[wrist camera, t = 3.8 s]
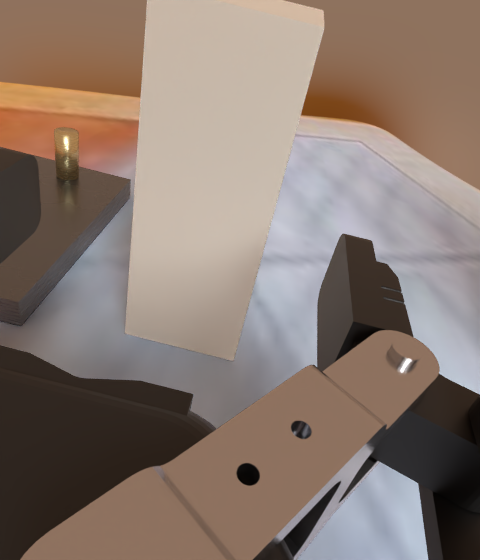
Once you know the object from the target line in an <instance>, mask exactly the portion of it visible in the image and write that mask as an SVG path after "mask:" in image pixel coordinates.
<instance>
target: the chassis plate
mask: <svg viewBox="0 0 480 560" xmlns="http://www.w3.org/2000/svg"><path fill="white" fill-rule="evenodd" d="M54 137H55V161H54V160H50V159H46V158H42V157H38V156H34V155H33V156H34V157H35V158H36V160H37V163H38V169H39V185H40V200H41V218H40V222H39V225H38V227H37V229H36V231H35V232H34V233H33V234H32V235H31V236H30V237H29V238H28V239H27V240H26V241H25V242H24V243H23V244H22V245H20V246H19V247H18V248H17V249H16V250H15V251H14V252H13V253H12V254H11V255H10V256H8V257H7V258H6V259H5V260H4V261H3V262H2V263H1V264H0V321H3V322H7V323H11V324H15V325H19V326H22V324H23V323H24V322H25V321H26V320H27V319H28V317H29V316H30V315H31V314H32V313H33V311H34V310H35V309H36V308H37V307H38V306H39V304H40V303H41V302H42V301H43V300H44V298H45V297H46V296H47V295H48V294H49V293H50V291H51V290H52V289H53V288H54V287H55V285H56V284H57V283H58V282H59V281H60V280H61V278H62V277H63V276H64V275H65V274H66V272H67V271H68V270H69V269H70V268H71V267H72V265H73V264H74V263H75V262H76V261H77V259H78V258H79V257H80V256H81V255H82V254H83V252H84V251H85V250H86V249H87V248H88V246H89V245H90V244H91V243H92V242H93V241H94V239H95V238H96V237H97V236H98V235H99V233H100V232H101V231H102V230H103V229H104V228H105V226H106V225H107V224H108V223H109V222H110V220H111V219H112V218H113V217H114V216H115V215H116V213H117V212H118V211H119V210H120V209H121V207H122V206H123V205H124V204H125V203H126V202H127V200H128V199H129V198H130V181H131V180H130V179H126V178H122V177H118V176H114V175H110V174H106V173H102V172H98V171H94V170H90V169H86V168H82V167H79V133H78V131H77V130H75V129H72V128H66V127H61V128H56V129H55V130H54ZM0 148H2V147H0Z"/></svg>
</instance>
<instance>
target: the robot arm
mask: <svg viewBox="0 0 480 560" xmlns="http://www.w3.org/2000/svg"><path fill="white" fill-rule="evenodd" d="M40 218H41V200H40V185H39V169H38V163H37V160H36V158H35V157H34V156H33V155H30V154H26V153H22V152H18V151H14V150H10V149H6V148H0V264H1V263H2V262H3V261H4V260H5V259H6V258H7V257H8V256H10V255H11V254H12V253H13V252H14V251H15V250H16V249H17V248H18V247H19V246H20V245H22V244H23V243H24V242H25V241H26V240H27V239H28V238H29V237H30V236H31V235H32V234H33V233H34V232H35V231H36V229H37V227H38V225H39V222H40ZM192 398H193V394H191V393H187V392H183V391H179V390H175V389H171V388H167V387H163V386H159V385H155V384H151V383H147V382H143V381H134V380H110V379H87V378H79V377H76V376H73V375H71V374H69V373H67V372H65V371H63V370H62V369H60V368H58V367H56V366H54V365H52V364H50V363H48V362H46V361H44V360H42V359H40V358H38V357H36V356H34V355H33V354H31V353H28V352H24V351H20V350H16V349H12V348H8V347H4V346H0V560H297V558H298V557H299V556H300V555H301V554H302V553H303V552H304V550H305V549H306V548H307V547H308V546H309V544H310V543H311V542H312V541H313V540H314V538H315V537H316V536H317V534H318V533H319V532H320V530H321V529H322V528H323V526H324V525H325V524H326V523H327V521H328V520H329V519H330V518H331V516H332V515H333V514H334V513H335V512H336V511H337V509H338V508H339V507H340V506H341V505H342V504H343V503H344V502H345V500H346V499H347V498H348V497H349V496H350V495H351V494H352V493H353V491H354V490H355V489H356V488H357V487H358V486H359V485H360V484H361V482H362V481H363V480H364V479H365V478H366V477H367V476H368V475H369V474H370V472H371V471H372V470H373V469H374V468H375V467H376V466H377V465H378V463H379V462H382V463H383V464H385V465H387V466H389V467H390V468H392V469H394V470H396V471H398V472H399V473H401V474H403V475H405V476H407V477H408V478H410V479H412V480H414V481H415V482H417V483H418V484H419V492H420V499H421V507H422V514H423V522H424V529H425V537H426V544H427V552H428V559H429V560H480V395H479V394H477V393H475V392H473V391H471V390H469V389H467V388H465V387H463V386H461V385H459V384H457V383H455V382H452V381H451V380H449V379H447V378H445V377H443V376H442V375H440V374H439V364H438V361H437V359H436V357H435V356H434V354H433V353H432V352H431V351H430V350H429V348H427V347H426V346H425V345H424V344H423V343H421V342H420V341H419V340H417V339H415V338H414V337H413V333H412V330H411V326H410V322H409V318H408V314H407V310H406V306H405V304H404V299H403V295H402V293H401V287H400V283H399V279H398V277H397V276H396V274H395V273H394V272H393V271H392V270H391V268H390V267H389V266H388V265H387V264H385V263H381V262H377V261H376V258H375V253H374V248H373V243H372V241H371V240H367V239H363V238H359V237H355V236H351V235H347V234H342V235H341V237H340V239H339V241H338V243H337V246H336V248H335V251H334V254H333V256H332V259H331V261H330V264H329V267H328V269H327V272H326V274H325V277H324V280H323V282H322V285H321V289H320V293H319V298H318V312H317V367H316V366H315V365H309V366H307V367H305V368H304V369H302V370H301V371H299V372H298V373H296V374H295V375H294V376H292V377H291V378H289V379H288V380H286V381H285V382H284V383H282V384H281V385H279V386H278V387H276V388H275V389H274V390H272V391H271V392H269V393H268V394H266V395H265V396H263V397H262V398H261V399H259V400H258V401H256V402H255V403H253V404H252V405H251V406H249V407H248V408H246V409H245V410H243V411H242V412H241V413H239V414H238V415H236V416H235V417H233V418H232V419H231V420H229V421H228V422H226V423H225V424H223V425H222V426H221V427H219V428H218V429H216V428H215V427H214V426H213V425H211V424H210V423H209V422H207V421H206V420H205V419H203V418H202V417H200V416H198V415H197V414H195V413H193V412H191V411H190V408H191V403H192Z"/></svg>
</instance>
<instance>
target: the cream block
mask: <svg viewBox="0 0 480 560" xmlns="http://www.w3.org/2000/svg"><path fill="white" fill-rule="evenodd" d="M323 31H324V13H323V10H320V9H316V8H312V7H308V6H304V5H300V4H295V3H292V2H287V1H283V0H147V11H146V26H145V41H144V56H143V71H142V86H141V101H140V116H139V131H138V145H137V160H136V175H135V190H134V205H133V220H132V235H131V250H130V265H129V280H128V294H127V309H126V324H125V334H128V335H132V336H136V337H140V338H144V339H148V340H152V341H155V342H159V343H163V344H167V345H171V346H175V347H179V348H183V349H187V350H191V351H195V352H199V353H203V354H207V355H211V356H215V357H219V358H223V359H226V360H230V361H234V357H235V354H236V350H237V346H238V343H239V339H240V335H241V332H242V328H243V324H244V321H245V317H246V313H247V310H248V306H249V302H250V299H251V295H252V291H253V288H254V284H255V280H256V277H257V273H258V269H259V266H260V262H261V258H262V255H263V251H264V247H265V244H266V240H267V236H268V233H269V229H270V225H271V222H272V218H273V214H274V211H275V207H276V203H277V200H278V196H279V192H280V189H281V185H282V181H283V178H284V174H285V170H286V167H287V163H288V159H289V156H290V152H291V148H292V144H293V141H294V137H295V133H296V130H297V126H298V122H299V119H300V115H301V111H302V108H303V104H304V100H305V97H306V93H307V89H308V86H309V82H310V78H311V75H312V71H313V67H314V64H315V60H316V56H317V53H318V49H319V45H320V41H321V38H322V34H323Z"/></svg>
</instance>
